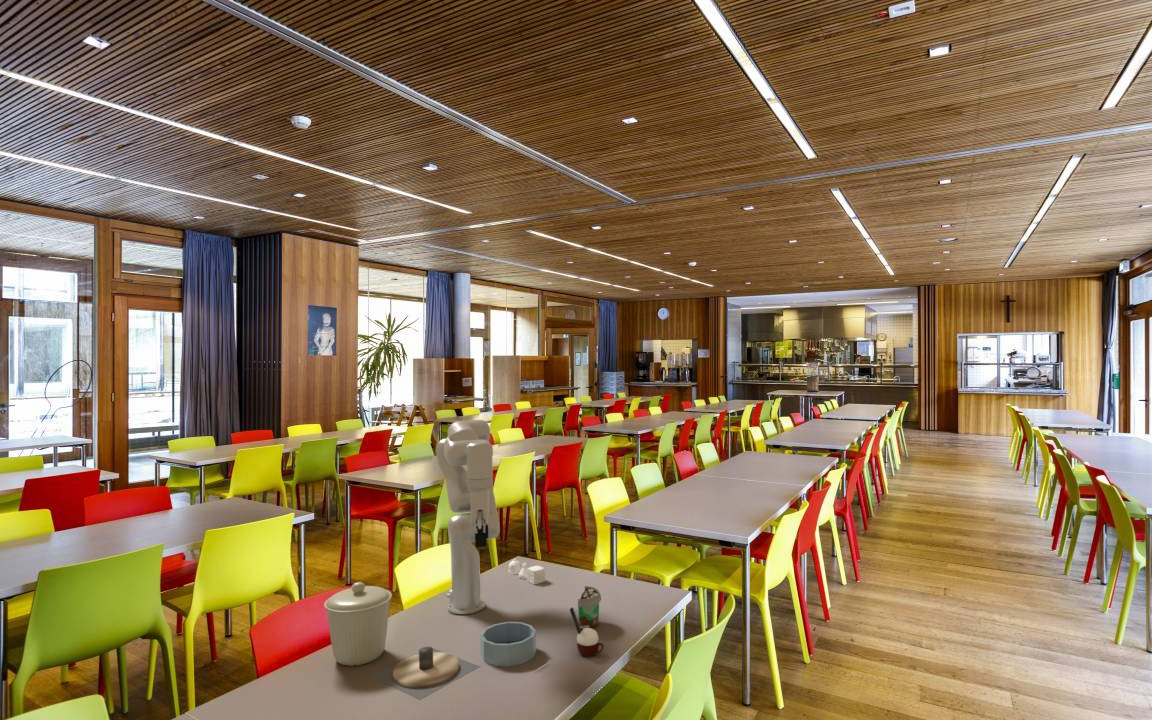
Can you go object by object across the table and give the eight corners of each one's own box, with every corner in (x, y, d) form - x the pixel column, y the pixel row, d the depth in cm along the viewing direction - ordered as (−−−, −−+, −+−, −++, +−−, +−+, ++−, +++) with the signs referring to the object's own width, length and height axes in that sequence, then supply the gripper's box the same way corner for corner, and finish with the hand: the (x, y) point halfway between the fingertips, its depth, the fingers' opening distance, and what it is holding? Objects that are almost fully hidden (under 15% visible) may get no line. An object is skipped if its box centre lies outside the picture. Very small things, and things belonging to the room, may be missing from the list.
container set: (545, 582, 229) (545, 568, 229) (533, 585, 226) (533, 571, 226) (517, 569, 245) (516, 556, 245) (506, 572, 241) (505, 559, 242)
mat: (371, 677, 159) (371, 676, 159) (431, 648, 175) (431, 647, 175) (419, 701, 147) (419, 699, 147) (480, 667, 163) (480, 666, 163)
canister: (367, 677, 160) (365, 596, 160) (310, 669, 165) (309, 591, 166) (405, 646, 177) (404, 574, 178) (353, 640, 182) (351, 570, 183)
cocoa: (606, 655, 169) (607, 612, 169) (591, 663, 164) (592, 618, 164) (581, 644, 175) (582, 602, 176) (566, 651, 171) (567, 608, 171)
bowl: (470, 657, 169) (469, 636, 169) (507, 638, 181) (507, 618, 181) (509, 672, 160) (508, 649, 160) (546, 651, 172) (545, 629, 172)
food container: (598, 634, 182) (597, 600, 182) (578, 633, 183) (577, 599, 183) (604, 617, 194) (604, 586, 194) (586, 616, 195) (585, 585, 195)
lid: (379, 675, 160) (379, 653, 160) (431, 651, 173) (430, 630, 173) (420, 694, 149) (420, 671, 149) (472, 667, 163) (471, 645, 163)
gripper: (469, 480, 188) (471, 536, 187) (464, 489, 170) (466, 551, 170) (494, 479, 188) (496, 535, 187) (491, 487, 171) (493, 549, 170)
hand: (482, 542), depth 179 cm, fingers open, 9 cm apart
